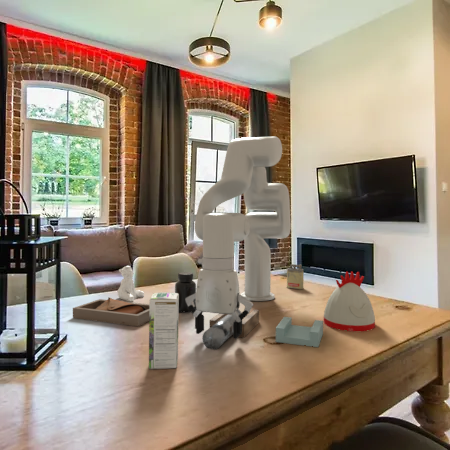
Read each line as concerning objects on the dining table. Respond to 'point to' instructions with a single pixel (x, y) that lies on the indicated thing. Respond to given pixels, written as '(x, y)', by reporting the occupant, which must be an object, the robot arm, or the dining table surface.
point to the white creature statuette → (128, 286)
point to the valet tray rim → (110, 314)
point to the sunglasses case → (120, 307)
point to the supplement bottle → (185, 290)
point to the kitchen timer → (349, 306)
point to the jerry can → (295, 277)
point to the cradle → (299, 333)
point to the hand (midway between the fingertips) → (218, 334)
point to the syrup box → (163, 330)
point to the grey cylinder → (219, 332)
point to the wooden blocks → (247, 322)
